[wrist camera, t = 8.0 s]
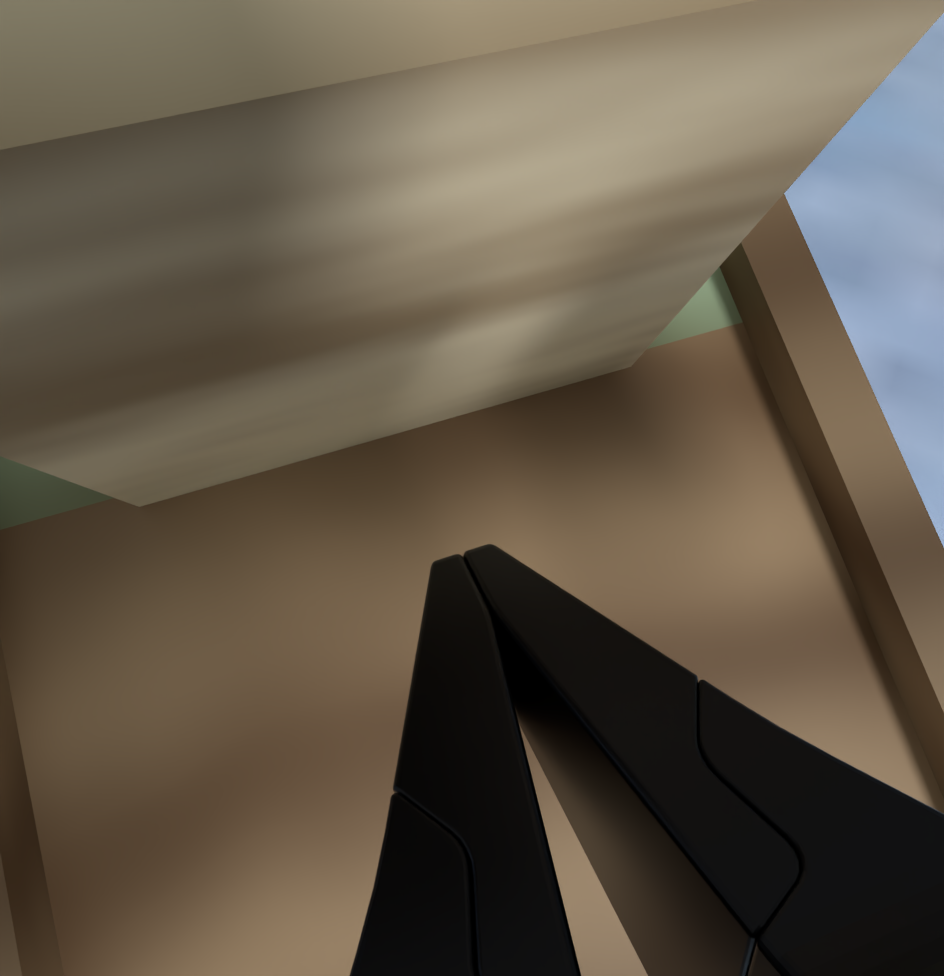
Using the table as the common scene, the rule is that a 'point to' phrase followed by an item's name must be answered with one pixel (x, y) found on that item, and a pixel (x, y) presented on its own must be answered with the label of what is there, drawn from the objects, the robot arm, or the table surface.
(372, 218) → the birch block
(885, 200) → the table surface
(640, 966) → the trap lane
